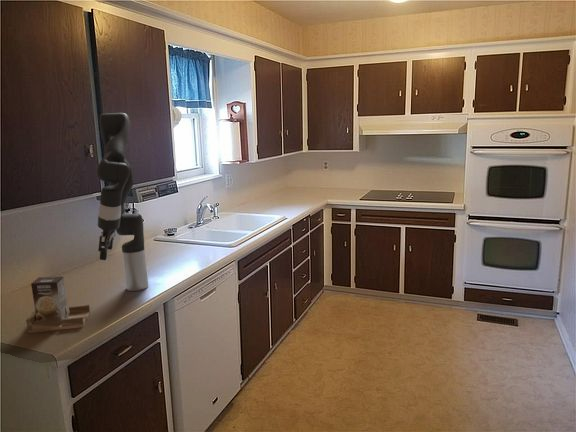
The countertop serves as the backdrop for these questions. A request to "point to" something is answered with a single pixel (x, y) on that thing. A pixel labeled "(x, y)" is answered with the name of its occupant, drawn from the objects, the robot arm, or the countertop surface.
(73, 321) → the wooden tray
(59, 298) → the coffee box
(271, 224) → the countertop surface
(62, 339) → the countertop surface
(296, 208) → the countertop surface
